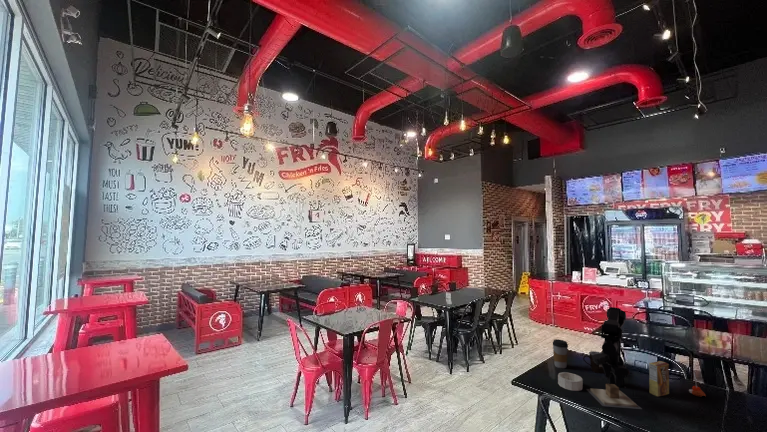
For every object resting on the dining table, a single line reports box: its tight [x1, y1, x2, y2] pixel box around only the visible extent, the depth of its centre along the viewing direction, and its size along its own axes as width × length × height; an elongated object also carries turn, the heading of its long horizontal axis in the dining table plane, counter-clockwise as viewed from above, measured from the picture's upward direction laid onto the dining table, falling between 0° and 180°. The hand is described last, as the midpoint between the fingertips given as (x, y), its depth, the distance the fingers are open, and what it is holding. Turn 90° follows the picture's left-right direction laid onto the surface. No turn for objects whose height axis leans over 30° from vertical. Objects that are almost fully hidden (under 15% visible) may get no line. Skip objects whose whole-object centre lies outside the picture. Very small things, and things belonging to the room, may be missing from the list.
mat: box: [585, 388, 643, 410], centre depth 162 cm, size 17×17×1 cm
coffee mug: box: [582, 350, 605, 375], centre depth 196 cm, size 12×9×10 cm
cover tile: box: [589, 383, 638, 407], centre depth 162 cm, size 14×14×6 cm
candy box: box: [648, 360, 670, 397], centre depth 169 cm, size 9×4×15 cm, turn 110°
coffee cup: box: [552, 339, 569, 369], centre depth 202 cm, size 8×8×15 cm
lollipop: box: [688, 371, 707, 397], centre depth 167 cm, size 6×10×12 cm, turn 146°
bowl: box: [557, 371, 584, 392], centre depth 175 cm, size 11×11×5 cm
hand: (612, 381), depth 163 cm, fingers open, 9 cm apart
